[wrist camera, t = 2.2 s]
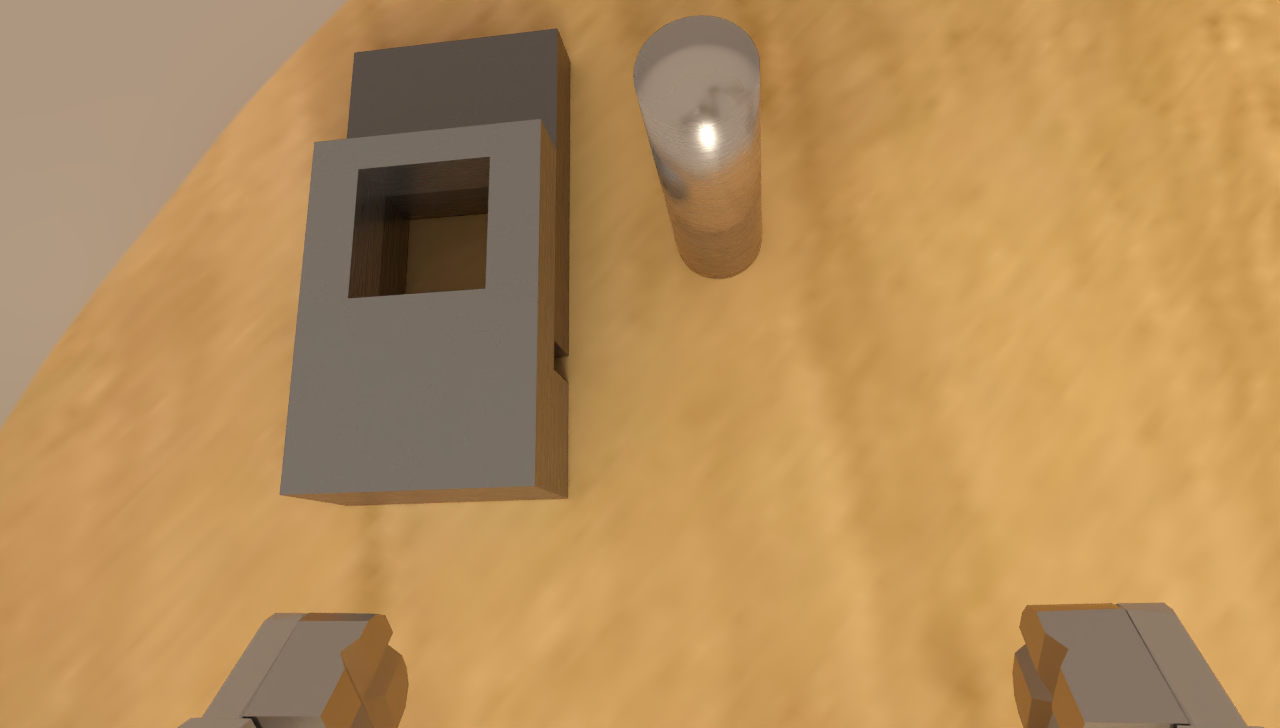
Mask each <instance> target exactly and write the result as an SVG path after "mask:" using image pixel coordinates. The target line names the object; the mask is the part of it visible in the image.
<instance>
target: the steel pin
mask: <svg viewBox="0 0 1280 728" xmlns="http://www.w3.org/2000/svg"><path fill="white" fill-rule="evenodd" d="M633 78H634V86H635V90H636V93H637V97H638V101H639V105H640V108H641V112H642V116H643V119H644V123H645V127H646V131H647V134H648V138H649V142H650V145H651V149H652V153H653V157H654V160H655V164H656V168H657V172H658V175H659V179H660V183H661V186H662V190H663V194H664V198H665V201H666V205H667V209H668V213H669V216H670V220H671V224H672V227H673V231H674V235H675V239H676V242H677V246H678V250H679V253H680V256H681V258H682V260H683V261H684V263H685V264H686V265H687V266H688V267H689V268H690V269H691V270H692V271H694V272H695V273H697V274H699V275H701V276H703V277H707V278H712V279H724V278H729V277H733V276H735V275H738V274H740V273H741V272H743V271H744V270H746V269H747V268H748V267H749V266H750V265H751V264H752V263H753V262H754V260H755V259H756V257H757V255H758V253H759V251H760V248H761V242H762V223H761V128H760V61H759V55H758V52H757V48H756V46H755V44H754V42H753V41H752V39H751V38H750V36H749V35H748V34H747V33H746V32H745V31H744V30H743V29H741V28H740V27H739V26H737V25H736V24H734V23H732V22H730V21H728V20H726V19H722V18H719V17H714V16H704V15H700V16H690V17H685V18H681V19H678V20H676V21H673V22H671V23H669V24H667V25H665V26H663V27H662V28H660V29H659V30H658V31H656V32H655V33H654V34H653V35H652V36H651V37H650V38H649V39H648V40H647V41H646V42H645V44H644V45H643V47H642V48H641V50H640V52H639V54H638V56H637V59H636V62H635V66H634V75H633Z"/></svg>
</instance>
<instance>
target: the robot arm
mask: <svg viewBox="0 0 1280 728" xmlns="http://www.w3.org/2000/svg"><path fill="white" fill-rule="evenodd" d="M1019 628H1020V630H1021V633H1022V635H1023V638H1024V641H1025V643H1026V644H1025V645H1024V646H1023V647H1021V648H1020V649H1019V650H1018V651H1017V652H1015V656H1014V664H1013V672H1012V673H1013V685H1014V696H1015V700H1016V704H1017V709H1018V713H1019V716H1020V719H1021V722H1022V725H1023V728H1264V727H1257V726H1247V724H1246V723H1245V721H1244V720H1243V718H1242V716H1241V715H1240V713H1239V712H1238V710H1237V709H1236V707H1235V706H1234V704H1233V702H1232V701H1231V699H1230V698H1229V696H1228V695H1227V693H1226V691H1225V690H1224V688H1223V687H1222V685H1221V684H1220V682H1219V681H1218V679H1217V677H1216V676H1215V674H1214V673H1213V671H1212V670H1211V668H1210V667H1209V665H1208V663H1207V662H1206V660H1205V659H1204V657H1203V656H1202V654H1201V653H1200V651H1199V649H1198V648H1197V646H1196V645H1195V643H1194V642H1193V640H1192V639H1191V637H1190V635H1189V634H1188V632H1187V631H1186V629H1185V628H1184V626H1183V624H1182V623H1181V621H1180V620H1179V618H1178V617H1177V615H1176V614H1175V612H1174V610H1173V609H1171V608H1170V607H1169V606H1167V605H1166V604H1165V603H1120V604H1112V603H1101V604H1057V605H1027V606H1026V607H1025V609H1024V610H1023V612H1022V616H1021V621H1020V626H1019ZM392 634H393V631H392V629H391V627H390V624H389V622H388V620H387V618H386V616H385V615H380V614H355V613H275V614H273V615H272V616H271V617H269V618H268V619H266V620H265V621H264V622H263V624H262V625H261V627H260V628H259V630H258V631H257V633H256V634H255V636H254V637H253V639H252V641H251V642H250V644H249V645H248V647H247V648H246V650H245V651H244V653H243V655H242V656H241V658H240V659H239V661H238V662H237V664H236V665H235V667H234V668H233V670H232V672H231V673H230V675H229V676H228V678H227V679H226V681H225V682H224V684H223V686H222V687H221V689H220V690H219V692H218V693H217V695H216V696H215V698H214V699H213V701H212V703H211V704H210V706H209V707H208V709H207V710H206V712H205V713H204V715H203V717H202V718H190V719H189V720H188V721H186V722H185V723H183V724H182V725H181V726H179V727H178V728H398V726H399V723H400V721H401V718H402V715H403V713H404V710H405V707H406V700H407V692H408V685H409V684H408V675H407V667H406V665H405V662H404V659H403V657H402V655H401V654H400V653H398V652H397V651H396V650H394V649H393V648H392V647H390V646H389V645H388V643H389V641H390V638H391V636H392Z"/></svg>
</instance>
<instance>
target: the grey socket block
mask: <svg viewBox="0 0 1280 728" xmlns="http://www.w3.org/2000/svg"><path fill="white" fill-rule="evenodd" d="M569 193H570V60H569V57H568V55H567V52H566V49H565V47H564V44H563V42H562V39H561V36H560V34H559V31H558V29H550V30H542V31H533V32H525V33H517V34H508V35H500V36H491V37H483V38H474V39H466V40H458V41H449V42H441V43H432V44H424V45H416V46H407V47H399V48H390V49H382V50H374V51H365V52H357V53H354V64H353V75H352V87H351V98H350V110H349V121H348V133H347V139H341V140H331V141H321V142H315V143H314V153H313V163H312V173H311V183H310V193H309V204H308V214H307V224H306V234H305V244H304V254H303V264H302V274H301V284H300V294H299V305H298V315H297V325H296V335H295V345H294V355H293V365H292V375H291V385H290V395H289V406H288V416H287V426H286V436H285V446H284V456H283V466H282V476H281V486H280V495H283V496H290V497H296V498H302V499H308V500H314V501H321V502H327V503H333V504H339V505H346V506H350V505H380V504H411V503H442V502H473V501H504V500H535V499H566V498H568V383H567V382H566V381H565V380H564V379H563V378H562V377H561V376H560V375H559V374H558V373H557V372H556V371H555V370H554V357H559V356H569ZM485 213H488V228H487V257H486V285H485V289H473V290H459V291H445V292H431V293H418V294H405V285H406V269H407V253H408V237H409V221H410V220H415V219H426V218H438V217H450V216H461V215H473V214H485Z"/></svg>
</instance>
